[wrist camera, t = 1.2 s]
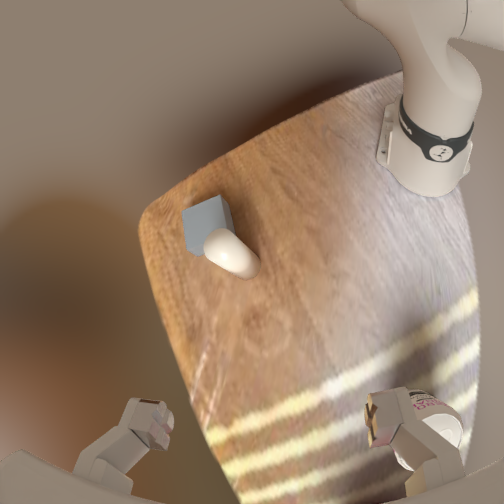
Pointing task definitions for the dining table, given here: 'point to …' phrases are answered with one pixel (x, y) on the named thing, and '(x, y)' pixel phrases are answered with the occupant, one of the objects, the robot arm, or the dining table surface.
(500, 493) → the robot arm
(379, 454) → the dining table surface
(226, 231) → the white pillar candle
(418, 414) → the supplement can
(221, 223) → the plinth
